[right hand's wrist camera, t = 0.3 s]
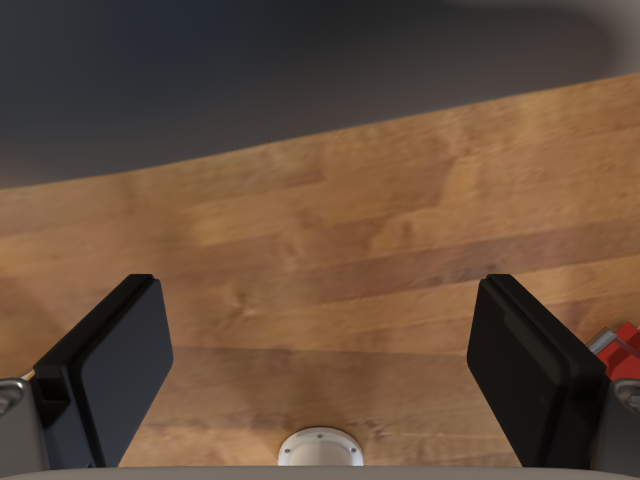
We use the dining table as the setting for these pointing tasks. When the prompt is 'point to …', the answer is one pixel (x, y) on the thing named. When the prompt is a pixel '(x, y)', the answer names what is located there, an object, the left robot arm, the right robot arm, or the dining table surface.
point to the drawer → (618, 351)
